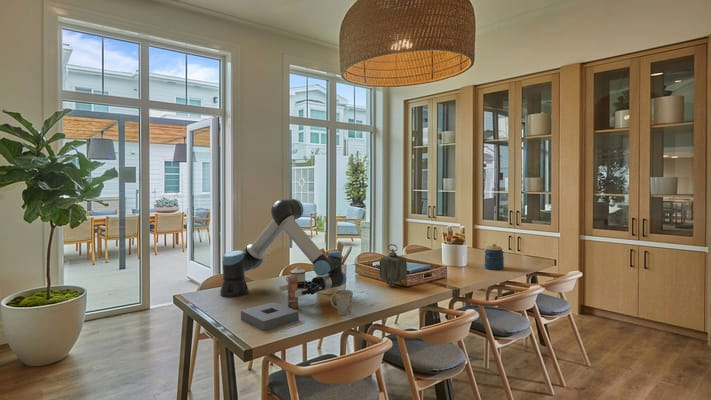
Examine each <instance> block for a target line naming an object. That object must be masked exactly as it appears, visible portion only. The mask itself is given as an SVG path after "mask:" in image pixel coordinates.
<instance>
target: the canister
mask: <svg viewBox="0 0 711 400" xmlns="http://www.w3.org/2000/svg"><path fill="white" fill-rule="evenodd" d="M485 249H486V250H484V268H485V269H486V270H492V271H502V270H504V269H505V265H504V264H505V263H504V262H505V261H504V260H505V256H504V254H505V252H504V251H503V249H504V248H502V247H501V246H498V245H497V244H496V243H492V245H489V246H486V247H485Z"/></svg>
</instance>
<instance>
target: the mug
mask: <svg viewBox="0 0 711 400" xmlns="http://www.w3.org/2000/svg"><path fill="white" fill-rule="evenodd" d="M353 295H354V293H353V291H352V290H351V289H350V290H348V289H340V290H336V291H335V292H334V293H333V294H331V296H330V298H329V302H330V304H331V306H332V307H333V308H335V309H337V314H338V315H339V316H348V315H350V314H351V313H352V312H351V311H352V305H353V303H352V302H353ZM334 297H335V301H336V302H335V303H336V305H335V304H334V302H333V299H334Z"/></svg>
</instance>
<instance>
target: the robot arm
mask: <svg viewBox="0 0 711 400" xmlns="http://www.w3.org/2000/svg"><path fill="white" fill-rule="evenodd" d="M304 212H305V211H304V206H303V203H302V202H301V201H300V200H298V199H295V198H290V199H279V200H277V201H275V202H274V203H273V204H272V206H271V210H270V214H271V217H272V220H271V221H270V222H269V224H268V225H267V226H266V227H265V228H264V229H263V231H262V232H260V235H258V236H257V238H256V239H255V241H253V243H251V244H248V245H247V246H246V248H244V250H232V251H227V252H225V253H224V254H222V261H221V262H222V279H223V281H222V284H221V287H220V291H219V292H220V296H221V297H226V298H233V297H234V298H235V297H241V296H245V295H247V294H248V293H249V287H248V284H247V282H246V279H245V277H246V276H245V274H246V273H245V272H248V271H251V270H255V269H257V268H258V267H259V268H260V266H261V265H262V263H263V262H264V261H263V260H264V257H265V253H266V252H267V250H268V249H269V248H270V246H271V245H272V244H273V243H274V242H275V240H277V238H278V237H279V236H280V235H281V233H282V232H283V231H284V232H285V233H286V234H287V235H288V237H289V238H290V239H291V240H292V241H293V242H294V244H295V245H296V246H297V247H298V249H299V250H300V251H301V252H302V253H303V254H304V255H305V257H306V258H307V259H308V260H309V261H310V262H311V263H312V265H313V272H314V274H316V275H317V276H315V277H313V278H312V279H311V281H309V280H305V281H300V282H297V284H298V289H299V290H298V291H295V297H298V298H299V297H302V296H306V295H311V296H314V295H315V294H316V293H319V292H322V291H327V290H330V289H332V288H334V289H335V288H338V287H341V286H344V285H345V284H346V282H347V276H346V273H345V272H343V271H342V265H343V264H342V262H343V256H342V252H341V251H338V250H331V251H328V252H327V256H326V255H325V254H324V253H323V251H321V249H320V248H319V247H318V246H317V245H316V243H314V241H313V240H312V239H311V238H310V236H309V235H308V234H307V233H306V232H305V231H304V229H303V228H302V227H301V226H300V225H299V224H298V222H297V221H296V220H299V219H300V218H301V217H303V215H304ZM278 290H279V291H278V292H280V293H281V292H285V291H288V283H286V284H282V285H279V287H278Z"/></svg>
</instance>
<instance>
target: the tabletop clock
mask: <svg viewBox="0 0 711 400" xmlns="http://www.w3.org/2000/svg"><path fill="white" fill-rule="evenodd" d="M390 246H394V247H395V248H396V249H394V248H391V249H390ZM387 250H388V251H389V253H388V255H386V256H382V257H380V260H379V276H380V279H383V280H384V281H386V284H389V286H388V287H390V288H392V287H393V285H392V283H393V282H394V283H397V282H399V283H400V284H401V287H404V286H405V284H404V283H402V281H403V280H406V278H407V274H408V273H407V272H408V264H407V263H408V262H407V259H406V257H404V256H402V255H397V254H398V253H396V252H397V251H398V246H397V245H396V244H392V243H391V244H388V246H387Z"/></svg>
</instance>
